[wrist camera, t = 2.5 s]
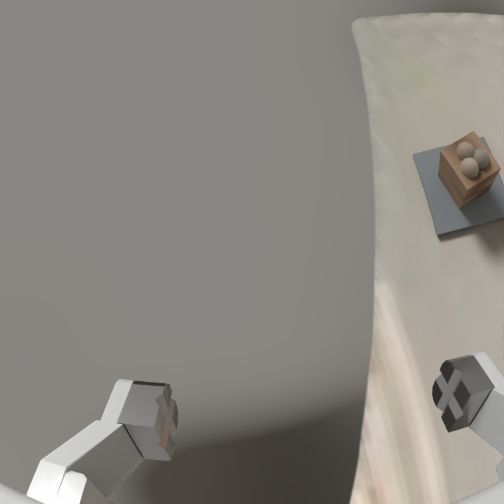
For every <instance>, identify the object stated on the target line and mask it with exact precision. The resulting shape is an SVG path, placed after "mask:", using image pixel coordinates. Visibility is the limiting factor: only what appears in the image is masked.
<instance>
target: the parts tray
mask: <svg viewBox="0 0 504 504" xmlns="http://www.w3.org/2000/svg"><path fill="white" fill-rule="evenodd" d="M480 140H481V141H482V142H483V144H484V145H485V146H486V148H487V149H488V150H489V148H488V146H487V143H486V141H485V139H484V137H481V138H480ZM448 146H450V145H448ZM448 146H443V147H439V148H436V149H432V150H428V151H424V152H420V153H416V154H413V158H414V161H415V164H416V167H417V170H418V173H419V176H420V179H421V182H422V185H423V188H424V191H425V195H426V198H427V201H428V205H429V208H430V212H431V215H432V219H433V223H434V226H435V230H436V234H437V236H439V235H443V234H447V233H451V232H455V231H459V230H463V229H466V228H470V227H474V226H478V225H482V224H485V223H489V222H493V221H496V220H500V219H504V187H503V184H502V181H501V178H500V176H499V173H498V175H497V177H496V178H495V180H494V182H493V184H492V186H491V188H490V189H489V191H487V192H486V193H484V194H483V195H481V196H480V197H478V198H477V199H475V200H473V201H472V202H470V203H469V204H467V205H466V206H464V207H463V208H461V209H459V208H458V206H457V205H456V203H455V201H454V200H453V198H452V197H451V195H450V193H449V192H448V190H447V189H446V187H445V186H444V184H443V183H442V181H441V180H440V178H439V177H438V170H439V161H440V151H441V150H443V149H445V148H446V147H448ZM489 152H490V150H489Z"/></svg>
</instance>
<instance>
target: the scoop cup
mask: <svg viewBox="0 0 504 504" xmlns="http://www.w3.org/2000/svg"><path fill="white" fill-rule="evenodd" d="M500 169H501V168H500V166H499V165H498V163H497V162H496V160H495V159H494V157H493V156H492V155H491V153H490V152H489V150H488V149H487V148H486V146H485V145H484V144H483V142H482V141H481V140H480V138H479V137H478V136H477V134H476V133H475V132H474V131H473V132H471V133H469V134H468V135H466V136H464V137H463V138H461V139H460V140H458V141H456V142H455V143H453V144H451V145H450V146H448V147H446V148H445V149H443V150H441V151H440V161H439V170H438V177H439V178H440V180H441V181H442V183H443V184H444V186H445V187H446V189H447V190H448V192H449V193H450V195H451V197H452V198H453V200H454V201H455V203H456V205H457V206H458V208H459V209H461V208H463V207H464V206H466V205H467V204H469V203H470V202H472V201H473V200H475V199H477V198H478V197H480V196H481V195H483V194H484V193H486V192H487V191H489V189H490V188H491V186H492V184H493V182H494V180H495V178H496V177H497V175H498V173H499V171H500Z"/></svg>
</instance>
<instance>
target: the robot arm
mask: <svg viewBox="0 0 504 504" xmlns="http://www.w3.org/2000/svg"><path fill="white" fill-rule="evenodd" d="M440 372H441V375H440V376H439V377H438V378H437V379H436V380H435V382H434V385H433V387H432V396H433V401H434V403H435V405H436V407H437V408H439V409H440V410H442V411H443V412H442V416H441V418H442V420H443V422H444V424H445V427H446V429H447V431H448V432H452V431H455V430H459V429H462V428H465V427H468V426H469V428H470V429H471V430H473V431H474V432H475V433H476V434H477V435H479V436H480V437H481V438H482V439H484V440H485V441H486V442H487V443H489V444H490V445H491V446H492V447H494V448H495V449H496V450H497V451H499V452H500V453H501V454H502V455H504V378H503V377H502V375H501V374H500V373H499V371H498V370H497V368H496V367H495V365H494V364H493V363H492V361H491V360H490V359H489V357H488V356H487V354H486V353H484V352H478V353H474V354H471V355H466V356H462V357H458V358H454V359H450V360H446V361H445V362H444V363H443V364H442V366H441V368H440ZM171 395H172V390H171V387H170V384H166V383H155V382H144V381H132V380H122V379H119V381H117V382H116V384H115V386H114V389H113V391H112V394H111V396H110V398H109V401H108V403H107V406H106V409H105V411H104V413H103V416H102V418H101V421H98V420H96V421H94V422H93V423H92V424H90V425H89V426H88V427H86V428H85V429H84V430H82V431H81V432H79V433H78V434H77V435H75V436H74V437H72V438H71V439H70V440H68V441H67V442H66V443H64V444H63V445H61V446H60V447H59V448H57V449H56V450H54V451H53V452H52V453H50V454H49V455H47V456H46V457H44V458H43V459H42V460H41V461H40V463H39V466H38V468H37V471H36V473H35V475H34V478H33V480H32V483H31V485H30V487H29V490H28V493H27V495H25V494H22V493H20V492H18V491H16V490H14V489H11V488H9V487H7V486H5V485H3V484H1V483H0V504H113V503H112V502H111V501H110V500H109V499H108V498H107V497H108V496H109V495H110V494H111V493H112V492H113V491H114V490H115V489H116V488H117V487H118V486H119V485H120V484H121V483H122V482H123V481H124V480H125V478H127V477H128V476H129V475H130V474H131V472H132V471H133V470H134V469H135V468H136V467H137V466H138V465H139V464H140V463H141V462H142V461H143V458H145V459H155V460H167V461H171V457H172V451H173V447H174V441H173V438H172V436H171V435H172V434H174V433H175V432H176V431H177V426H178V409H177V405H176V402H175V401H174V400H173V399H171ZM496 471H497V474H498V476H499V478H500V481H499V482H497V483H495V484H493V485H491V486H489V487H487V488H485V489H483V490H481V491H479V492H477V493H474V494H472V495H470V496H468V497H465V498H463V499H461V500H458V501H456V502H453V503H451V504H504V458H503V459H502V460H501V461H500V462H499V464H498V465H497V467H496Z"/></svg>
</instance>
